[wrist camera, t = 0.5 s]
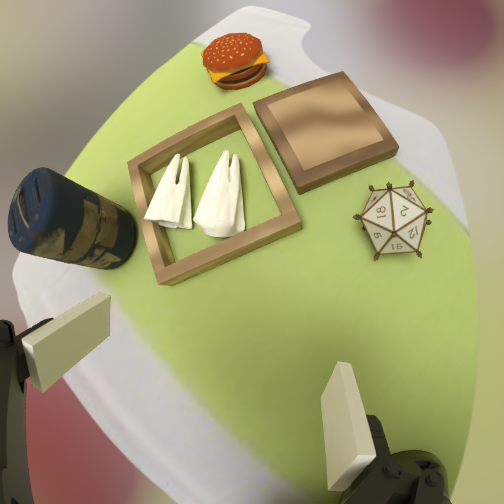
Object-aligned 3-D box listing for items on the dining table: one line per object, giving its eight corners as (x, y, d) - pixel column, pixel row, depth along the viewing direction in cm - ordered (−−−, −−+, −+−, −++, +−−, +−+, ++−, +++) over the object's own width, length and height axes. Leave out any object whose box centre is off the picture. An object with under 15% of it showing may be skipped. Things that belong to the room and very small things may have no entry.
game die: (367, 226, 36) (349, 162, 29) (429, 221, 31) (423, 152, 25) (362, 283, 30) (342, 218, 24) (436, 280, 26) (437, 209, 20)
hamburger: (277, 76, 38) (271, 46, 32) (220, 99, 39) (205, 72, 33) (255, 46, 40) (247, 18, 34) (204, 67, 41) (190, 41, 35)
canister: (97, 280, 38) (-2, 265, 21) (87, 224, 40) (-2, 190, 23) (146, 255, 37) (44, 223, 20) (132, 196, 39) (43, 143, 22)
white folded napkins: (241, 246, 35) (264, 164, 36) (233, 238, 30) (259, 148, 32) (156, 227, 37) (182, 153, 39) (140, 218, 33) (170, 139, 35)
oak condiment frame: (302, 229, 33) (300, 221, 30) (171, 285, 36) (158, 284, 32) (247, 116, 38) (241, 102, 34) (139, 171, 40) (127, 162, 36)
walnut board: (394, 155, 32) (399, 146, 30) (299, 195, 34) (297, 187, 32) (342, 82, 36) (343, 70, 33) (256, 113, 37) (252, 102, 35)
